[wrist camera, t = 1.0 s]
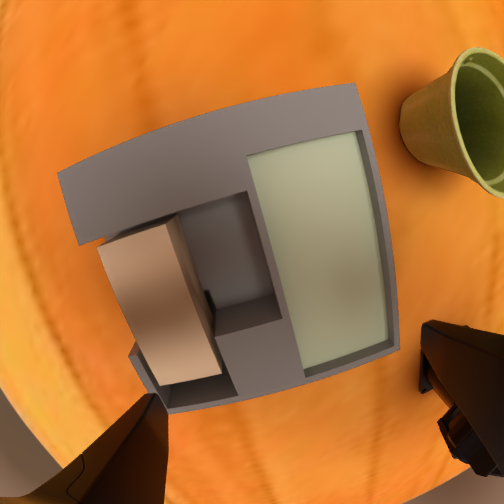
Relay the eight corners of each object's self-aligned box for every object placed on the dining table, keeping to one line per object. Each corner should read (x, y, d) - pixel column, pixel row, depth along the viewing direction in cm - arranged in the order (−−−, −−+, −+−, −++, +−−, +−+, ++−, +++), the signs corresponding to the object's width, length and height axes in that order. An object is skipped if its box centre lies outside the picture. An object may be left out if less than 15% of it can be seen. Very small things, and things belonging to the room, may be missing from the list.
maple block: (222, 342, 20) (221, 373, 17) (168, 355, 20) (159, 385, 17) (177, 214, 18) (165, 224, 14) (118, 234, 18) (96, 247, 14)
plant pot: (479, 150, 21) (549, 153, 12) (418, 207, 22) (493, 228, 13) (429, 60, 18) (495, 32, 10) (356, 106, 19) (422, 78, 11)
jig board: (363, 308, 23) (399, 349, 17) (175, 361, 24) (162, 415, 17) (320, 106, 19) (355, 82, 13) (103, 171, 19) (57, 173, 13)
